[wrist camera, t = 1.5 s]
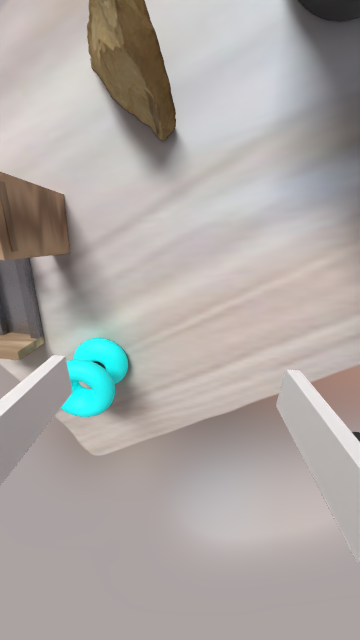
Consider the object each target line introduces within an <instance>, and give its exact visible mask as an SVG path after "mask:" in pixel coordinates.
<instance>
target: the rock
mask: <svg viewBox="0 0 360 640" xmlns="http://www.w3.org/2000/svg"><path fill="white" fill-rule="evenodd" d="M89 13H90V14H89V22H88V25H87V31H88V34H87V38H88V45H89V54H90V56H91V59H90V60H91V67H92V69H94V70H95V71H96V72H97V73H98V75H99V76H100V78H101V80H102V81H103V82H104V84H105V86H106V88H107V90H108V91H109V92H110V94H111V97H112V98H113V99H115V100H116V101H117V102H118V103H119V104H120V105H121V106H122V107H123V108H124V109H125V110H127V111H128V112H129V113H131V114H134V115H135V116H136V117H137V118H138V119H139V120H140V121H141V122H143V123H144V124H147V125H149V126H150V127H151V128H152V130H153V131H154V133H155V134H156V136H157V137H158V138H159V139H161V140H162V141H164V140H165V139H166V138H167V137H168V135H170V134H171V133H172V132H173V130H174V129H175V126H176V119H175V114H176V112H175V107H174V103H173V99H172V95H171V87H170V83H169V79H168V75H167V73H166V70H165V66H164V60H163V57H162V54H161V51H160V46H159V43H158V39H157V36H156V32H155V30H154V28H153V25H152V23H151V21H150V17H149V13H148V10H147V7H146V4H145V1H144V0H89Z"/></svg>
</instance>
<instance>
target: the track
mask: <svg viewBox="0 0 360 640" xmlns="http://www.w3.org/2000/svg"><path fill="white" fill-rule="evenodd" d="M9 332H10V333H19V334H29V335H30V336H31V338H34V339H38V338H40V337H41V336H43V331H42V325H41V320H40V315H39V309H38V304H37V298H36V293H35V287H34V282H33V277H32V271H31V266H30V260H29V258H22V259H12V260H0V335H5V334H7V333H9Z"/></svg>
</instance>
